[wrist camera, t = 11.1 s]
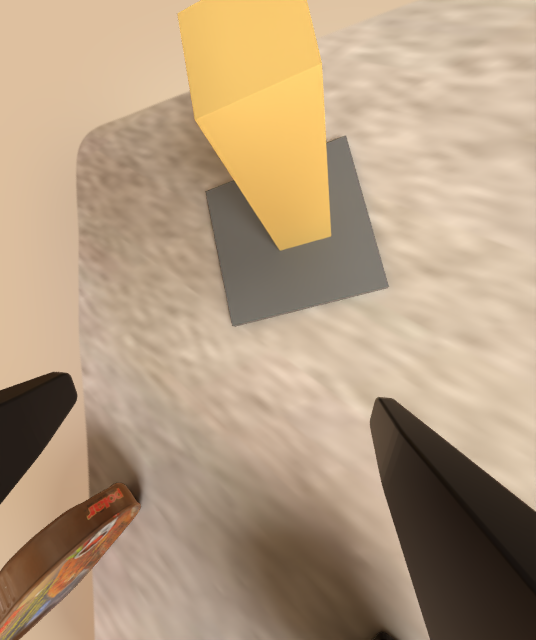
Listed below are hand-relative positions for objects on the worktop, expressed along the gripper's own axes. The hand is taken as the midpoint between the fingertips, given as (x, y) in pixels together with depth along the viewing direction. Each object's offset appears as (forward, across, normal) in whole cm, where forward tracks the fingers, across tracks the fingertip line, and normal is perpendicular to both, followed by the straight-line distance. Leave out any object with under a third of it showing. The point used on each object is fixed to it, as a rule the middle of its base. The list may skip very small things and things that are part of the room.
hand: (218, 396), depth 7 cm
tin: (+7, +14, +22) cm, 27 cm away
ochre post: (+16, -2, -4) cm, 16 cm away
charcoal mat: (+16, -2, -3) cm, 16 cm away
